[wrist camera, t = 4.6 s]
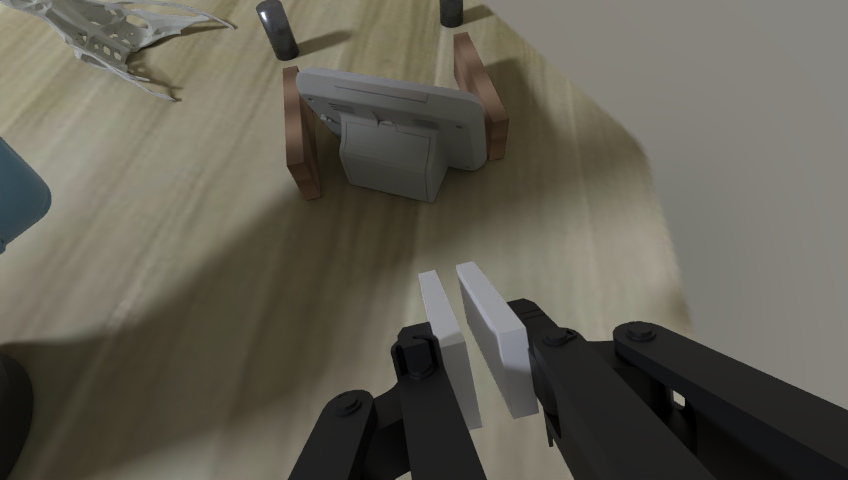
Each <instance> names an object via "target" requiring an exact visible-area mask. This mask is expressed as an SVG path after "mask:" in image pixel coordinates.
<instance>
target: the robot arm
mask: <svg viewBox="0 0 848 480" xmlns="http://www.w3.org/2000/svg"><path fill="white" fill-rule="evenodd" d="M50 206H51V192H50V190H49V188H48V186H47V184H46V183H45V182H44V181H43V180H42V178H41V177H40V176H39V175H38V174H37V173H36V172H35V171H34V170H33V169H32V168H31V167H30V166H29V165H28V164H27V163H26V162H25V161H24V160H23V159H22V158H21V157H20V156H19V155H18V154H17V153H16V152H15V151H14V150H13V149H12V148H11V147H10V146H9V145H8V144H7V143H6V142H5V141H4V140H3V139H2V138H1V137H0V254H2V253H3V252H4V251H5V246H6V245H7V244H8V243H10V242H11V241H12V240H14V239H15V238H16V237H18V236H19V235H20V234H22V233H23V232H24V231H26V230H27V229H28V228H30V227H31V226H32V225H34V224H35V223H36V222H38V221H39V220H40V219H41V218H43V217H44V216H45V214H46V213H47V212H48V210H49V208H50ZM456 268H457V273H458V278H459V283H460V289H461V294H462V299H463V304H464V309H465V314H466V319H467V323H468V325H469V327H470V329H471V332H472V334H473V336H474V338H475V340H476V342H477V344H478V346H479V348H480V350H481V352H482V354H483V356H484V359H485V361H486V363H487V365H488V367H489V369H490V371H491V373H492V375H493V377H494V379H495V381H496V384H497V386H498V388H499V390H500V392H501V394H502V396H503V398H504V400H505V402H506V404H507V406H508V409H509V411H510V413H511V415H512V417H513V419H516V418H520V417H524V416H528V415H532V414H536V413H539V409H538V403H537V398H538V399H539V401H540V403H541V404H542V406H543V410H544V417H545V423H546V430H547V436H548V442H549V447H552V446H553V439H554V441H555V443H556V444H557V446H558V448H559V450H560V452H561V454H562V456H563V458H564V460H565V462H566V464H567V466H568V468H569V470H570V472H571V474H572V476H573V478H574V480H848V410H846V409H844V408H842V407H839V406H837V405H835V404H833V403H830V402H828V401H826V400H824V399H822V398H820V397H817V396H815V395H813V394H811V393H808V392H806V391H804V390H802V389H799V388H797V387H795V386H792V385H791V384H788V383H786V382H784V381H782V380H779V379H777V378H775V377H773V376H771V375H768V374H766V373H764V372H762V371H759V370H757V369H755V368H752V367H750V366H748V365H746V364H744V363H742V362H739V361H737V360H735V359H733V358H731V357H728V356H726V355H724V354H722V353H719V352H717V351H715V350H712V349H710V348H708V347H706V346H704V345H702V344H699V343H697V342H695V341H693V340H690V339H688V338H686V337H684V336H682V335H679V334H677V333H675V332H673V331H670V330H668V329H666V328H664V327H662V326H659V325H656V324H653V323H647V322H642V321H636V322H635V321H634V322H629V323H625V324H621V325H619V326H617V327H616V328H615V329H614V331H613V341H586V340H585V339H584V338H583V336H582V335H581V334H579V333H578V332H576V331H575V330H572V329H569V328H561V327H558V326H557V325H556V324H555V323H554V322H553V321H552V320H551V319H550V318H549V317H548V316H547V315H546V314H545V313H544V312H543V311H542V310H541V309H540V308H539V307H538V306H537V305H536V304H535V303H534V302H532V301H529V300H527V299H524V298H523V299H519V300H514V301H510V302H505V301H504V299H503V298H502V297H501V296H500V294H499V293H498V292H497V291H496V289H495V288H494V287H493V286H492V284H491V283H490V282H489V281H488V279H487V278H486V277H485V276H484V274H483V273H482V272H481V271H480V269H479V268H478V267H477V266H476V264H475V263H474V262H473V261H472V262H468V263H463V264H459V265H456ZM418 277H419V281H420V286H421V290H422V295H423V299H424V304H425V308H426V313H427V318H428V322H425V323H421V324H417V325H412V326H408V327H404V328H402V330H401V331H400V333H399V334H398V341H396V342H395V343H394V345H393V346H392V347H391V355H392V359H393V363H394V367H395V371H396V375H397V380H398V382H397V383H396V385H395V386H394V387H393V388H391V389H390V390H389V391H387V392H386V393H384V394H382V395H380V396H378V397H376V398H373V396H372V395H371V394H370V392H367V391H365V390H352V391H347V392H344V393H342V394H339V395H338V396H336V397H335V398H333V399H332V400H331V401H329V402H328V403H327V405H326V406H325V407H324V409H323V410H322V412H321V414H320V416H319V418H318V420H317V422H316V424H315V426H314V428H313V430H312V432H311V434H310V436H309V438H308V440H307V442H306V444H305V446H304V448H303V450H302V452H301V454H300V456H299V458H298V460H297V462H296V464H295V466H294V468H293V470H292V472H291V474H290V476H289V478H288V480H395V479H396V478H398V477H400V476H402V475H403V474H405V473H407V472H409V471H411V477H412V480H487V479H486V476H485V473H484V471H483V468H482V465H481V463H480V460H479V457H478V455H477V452H476V449H475V447H474V444H473V441H472V439H471V436H470V433H469V431H468V430H472V429H476V428H480V427H482V423H481V418H480V413H479V408H478V403H477V398H476V393H475V388H474V383H473V377H472V372H471V367H470V362H469V357H468V352H467V347H466V342H465V339H464V337H463V335H462V332H461V330H460V328H459V325H458V323H457V321H456V318H455V316H454V313H453V311H452V309H451V306H450V304H449V302H448V299H447V297H446V295H445V292H444V290H443V287H442V285H441V283H440V280H439V278H438V276H437V273H436V271H435V270H432V271H428V272H424V273H419V274H418ZM673 390H674V391H675V392H677V393H679V394H680V395H682V396H683V397H684V398H685V407H684V406H682V405H680V404H678V403H677V402H675V401H674V397H673ZM31 414H32V389H31V384H30V381H29V378H28V376H27V374H26V372H25V370H24V369H23V367H22V366H21V365H20V364H19V363H18V362H17V361H15V360H14V359H12V358H11V357H9V356H7V355H4V354H1V353H0V480H5V478H6V477H7V475H8V474H9V472H10V470H11V468H12V467H13V465H14V463H15V461H16V459H17V457H18V455H19V453H20V450H21V448H22V446H23V443H24V440H25V438H26V435H27V432H28V428H29V424H30V419H31Z"/></svg>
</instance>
